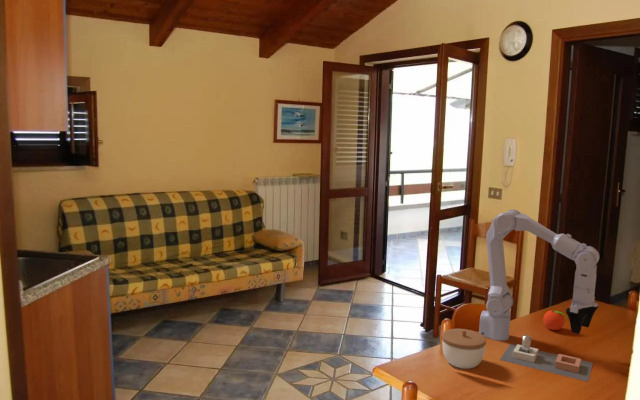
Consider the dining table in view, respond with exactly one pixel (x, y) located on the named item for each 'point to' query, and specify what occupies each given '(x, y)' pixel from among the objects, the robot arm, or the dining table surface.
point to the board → (548, 364)
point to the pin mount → (525, 354)
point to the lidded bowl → (463, 347)
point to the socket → (568, 363)
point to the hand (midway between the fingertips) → (580, 329)
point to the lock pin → (526, 343)
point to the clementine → (553, 320)
